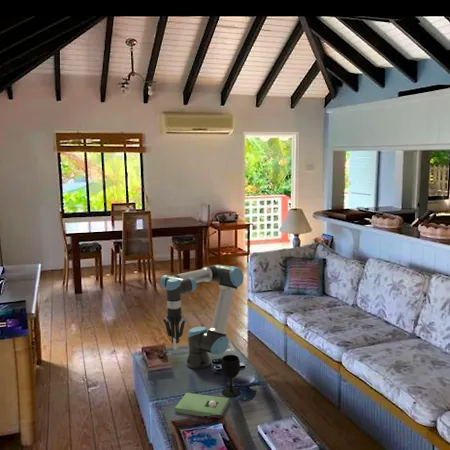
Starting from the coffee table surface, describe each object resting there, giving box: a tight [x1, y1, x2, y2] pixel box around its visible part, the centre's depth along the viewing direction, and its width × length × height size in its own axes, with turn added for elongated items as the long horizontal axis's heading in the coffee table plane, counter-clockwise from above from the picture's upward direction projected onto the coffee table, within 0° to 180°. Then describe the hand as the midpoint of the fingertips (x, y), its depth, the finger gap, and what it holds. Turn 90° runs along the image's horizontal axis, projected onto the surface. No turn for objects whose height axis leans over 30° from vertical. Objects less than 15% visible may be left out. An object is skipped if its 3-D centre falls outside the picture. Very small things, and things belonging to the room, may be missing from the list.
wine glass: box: [220, 354, 241, 398], centre depth 260 cm, size 10×10×20 cm
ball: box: [209, 400, 216, 408], centre depth 245 cm, size 4×4×4 cm
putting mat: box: [174, 392, 230, 417], centre depth 246 cm, size 16×24×2 cm, turn 73°
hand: (175, 348), depth 262 cm, fingers closed
